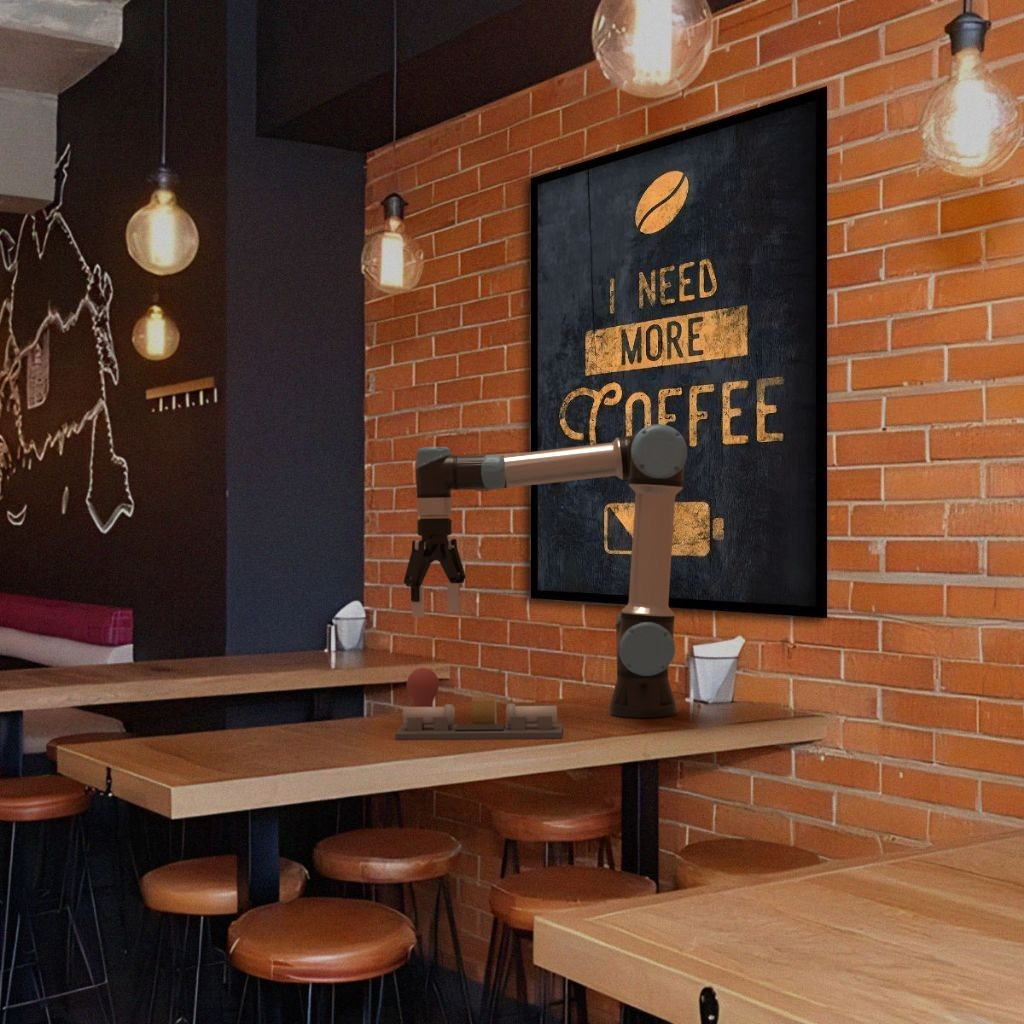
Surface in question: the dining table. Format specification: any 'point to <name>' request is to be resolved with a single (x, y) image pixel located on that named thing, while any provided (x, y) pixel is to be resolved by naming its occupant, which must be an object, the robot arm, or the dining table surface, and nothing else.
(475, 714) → the block
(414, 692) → the light bulb
